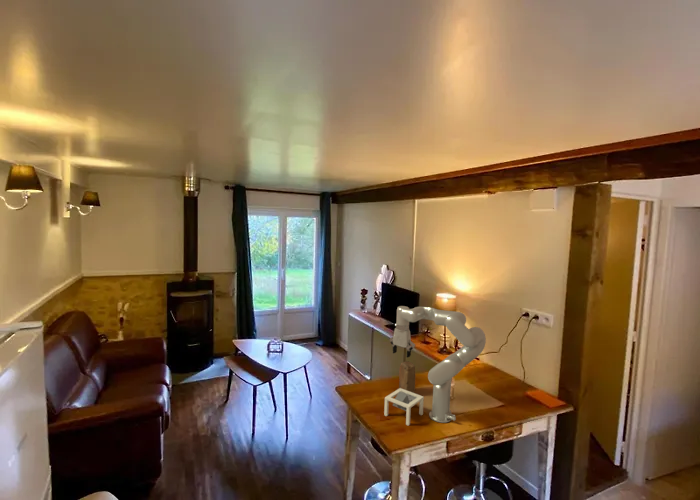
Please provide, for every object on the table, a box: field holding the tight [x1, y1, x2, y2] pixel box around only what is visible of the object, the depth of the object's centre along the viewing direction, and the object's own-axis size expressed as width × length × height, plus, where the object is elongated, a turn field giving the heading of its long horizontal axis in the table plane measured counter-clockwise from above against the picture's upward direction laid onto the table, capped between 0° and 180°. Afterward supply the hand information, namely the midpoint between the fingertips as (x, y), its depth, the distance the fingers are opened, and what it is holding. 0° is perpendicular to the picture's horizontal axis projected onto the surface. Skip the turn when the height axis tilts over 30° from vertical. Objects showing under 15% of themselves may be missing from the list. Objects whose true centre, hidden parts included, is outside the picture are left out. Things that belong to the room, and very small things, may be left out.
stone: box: [394, 392, 409, 408], centre depth 211 cm, size 5×5×6 cm
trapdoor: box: [392, 392, 417, 412], centre depth 213 cm, size 10×10×1 cm
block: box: [398, 361, 416, 393], centre depth 239 cm, size 11×8×20 cm
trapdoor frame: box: [383, 387, 425, 426], centre depth 213 cm, size 16×16×10 cm
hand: (401, 354), depth 224 cm, fingers open, 9 cm apart
